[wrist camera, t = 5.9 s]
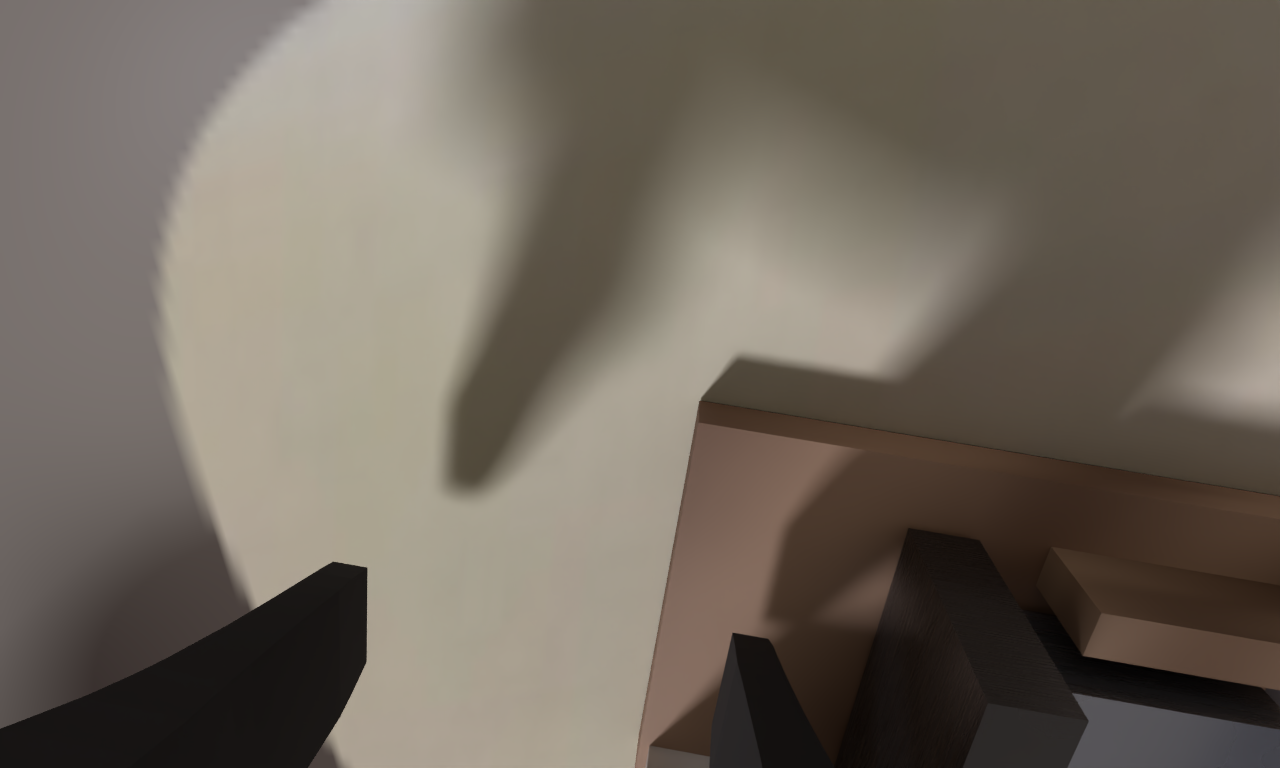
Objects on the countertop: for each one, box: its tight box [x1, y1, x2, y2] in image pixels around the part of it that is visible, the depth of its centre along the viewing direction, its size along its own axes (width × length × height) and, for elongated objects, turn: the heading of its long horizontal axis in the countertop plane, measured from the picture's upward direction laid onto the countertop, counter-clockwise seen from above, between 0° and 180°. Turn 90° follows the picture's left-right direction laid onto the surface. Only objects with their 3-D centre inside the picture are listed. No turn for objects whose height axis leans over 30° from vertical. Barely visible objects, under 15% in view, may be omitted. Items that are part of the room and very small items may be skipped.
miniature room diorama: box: [635, 401, 1280, 768], centre depth 12 cm, size 12×8×6 cm
